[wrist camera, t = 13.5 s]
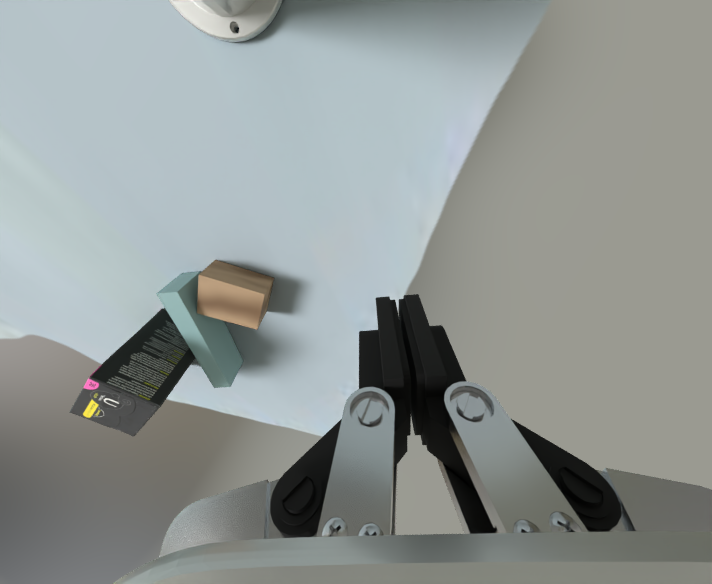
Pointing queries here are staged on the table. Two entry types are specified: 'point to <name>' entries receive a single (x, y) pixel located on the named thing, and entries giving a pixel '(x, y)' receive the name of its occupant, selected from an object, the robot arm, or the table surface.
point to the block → (233, 294)
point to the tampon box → (136, 377)
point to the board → (201, 331)
